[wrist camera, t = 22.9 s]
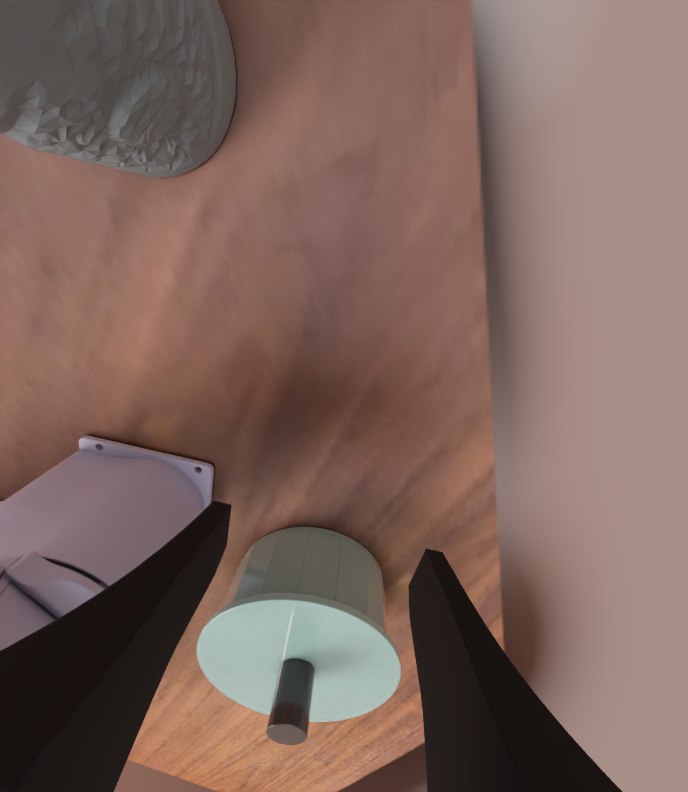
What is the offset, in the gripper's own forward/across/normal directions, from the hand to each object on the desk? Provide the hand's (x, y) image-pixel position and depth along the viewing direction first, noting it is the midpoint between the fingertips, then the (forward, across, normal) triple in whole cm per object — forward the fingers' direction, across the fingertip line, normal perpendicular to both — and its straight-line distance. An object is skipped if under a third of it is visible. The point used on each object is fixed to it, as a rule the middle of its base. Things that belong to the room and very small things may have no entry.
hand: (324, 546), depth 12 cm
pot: (+10, -1, +16) cm, 19 cm away
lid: (+4, -1, +16) cm, 17 cm away
